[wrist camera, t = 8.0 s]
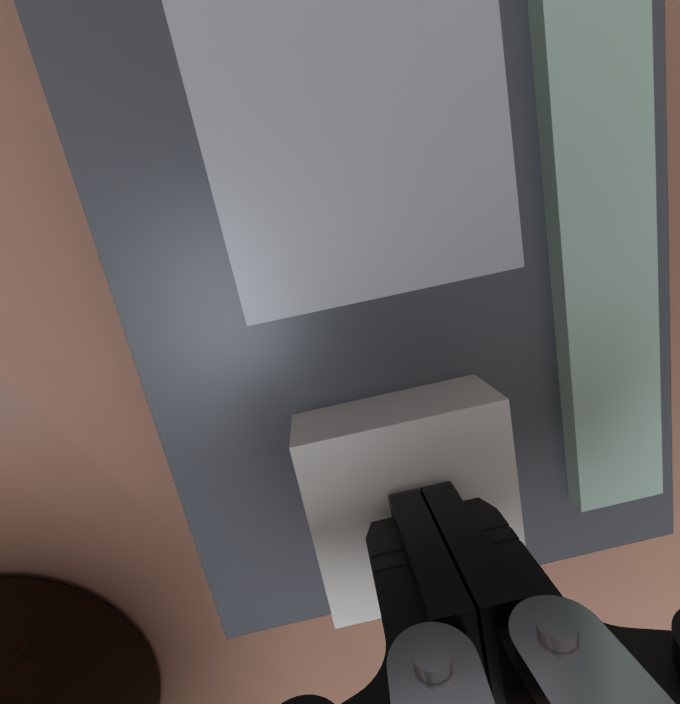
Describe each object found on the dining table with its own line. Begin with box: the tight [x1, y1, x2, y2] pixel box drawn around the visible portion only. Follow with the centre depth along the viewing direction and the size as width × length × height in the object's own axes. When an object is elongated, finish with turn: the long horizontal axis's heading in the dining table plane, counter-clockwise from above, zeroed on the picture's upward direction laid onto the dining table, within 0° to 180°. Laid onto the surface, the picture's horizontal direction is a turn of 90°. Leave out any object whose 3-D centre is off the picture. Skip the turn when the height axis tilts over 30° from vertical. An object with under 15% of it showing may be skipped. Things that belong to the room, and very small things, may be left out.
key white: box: [289, 374, 526, 629], centre depth 11 cm, size 5×5×2 cm
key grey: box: [162, 0, 525, 326], centre depth 8 cm, size 5×5×2 cm
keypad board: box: [14, 0, 673, 638], centre depth 11 cm, size 14×24×3 cm, turn 12°
